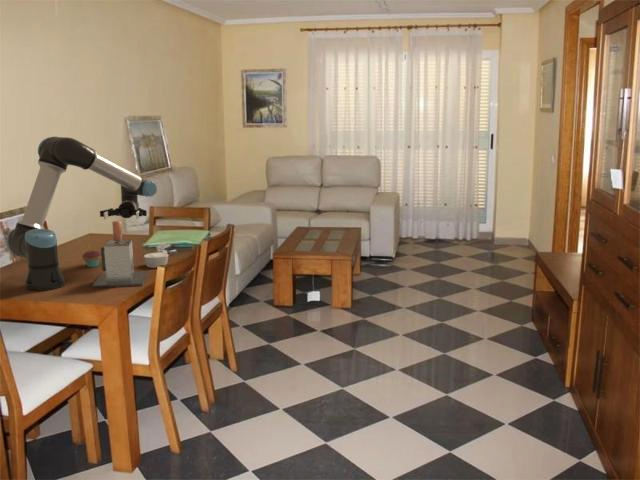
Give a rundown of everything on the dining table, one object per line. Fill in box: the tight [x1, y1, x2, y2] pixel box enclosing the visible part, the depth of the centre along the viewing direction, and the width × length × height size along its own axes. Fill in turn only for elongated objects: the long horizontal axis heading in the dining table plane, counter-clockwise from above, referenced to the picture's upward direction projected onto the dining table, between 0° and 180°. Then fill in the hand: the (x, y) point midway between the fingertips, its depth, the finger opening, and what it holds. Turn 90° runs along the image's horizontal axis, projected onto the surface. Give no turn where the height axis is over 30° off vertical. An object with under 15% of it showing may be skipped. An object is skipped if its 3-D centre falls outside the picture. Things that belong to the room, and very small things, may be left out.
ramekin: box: [143, 252, 169, 269], centre depth 289 cm, size 11×11×5 cm
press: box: [91, 239, 148, 289], centre depth 261 cm, size 20×20×17 cm
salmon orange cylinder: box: [112, 220, 124, 243], centre depth 260 cm, size 4×4×24 cm
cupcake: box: [81, 242, 102, 268], centre depth 288 cm, size 9×8×12 cm
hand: (120, 216), depth 268 cm, fingers open, 13 cm apart
